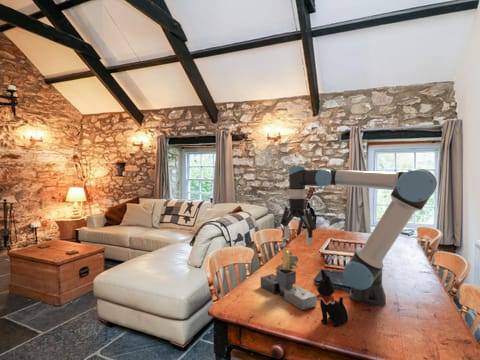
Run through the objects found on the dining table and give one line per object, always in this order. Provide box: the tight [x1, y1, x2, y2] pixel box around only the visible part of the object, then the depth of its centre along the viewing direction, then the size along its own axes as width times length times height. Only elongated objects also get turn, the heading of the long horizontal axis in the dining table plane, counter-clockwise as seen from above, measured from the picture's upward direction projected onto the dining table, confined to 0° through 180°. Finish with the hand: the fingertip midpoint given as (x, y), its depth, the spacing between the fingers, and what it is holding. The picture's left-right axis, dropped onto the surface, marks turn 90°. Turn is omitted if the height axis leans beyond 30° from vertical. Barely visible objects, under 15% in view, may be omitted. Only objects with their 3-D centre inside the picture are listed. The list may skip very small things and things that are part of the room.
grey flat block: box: [283, 285, 317, 311], centre depth 127 cm, size 12×8×5 cm, turn 31°
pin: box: [282, 249, 290, 274], centre depth 135 cm, size 3×3×14 cm
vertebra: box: [277, 251, 299, 271], centre depth 171 cm, size 20×11×10 cm, turn 140°
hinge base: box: [260, 268, 297, 299], centre depth 139 cm, size 17×8×12 cm, turn 37°
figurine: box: [316, 268, 349, 328], centre depth 111 cm, size 8×13×20 cm, turn 95°
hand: (297, 241), depth 138 cm, fingers open, 13 cm apart
